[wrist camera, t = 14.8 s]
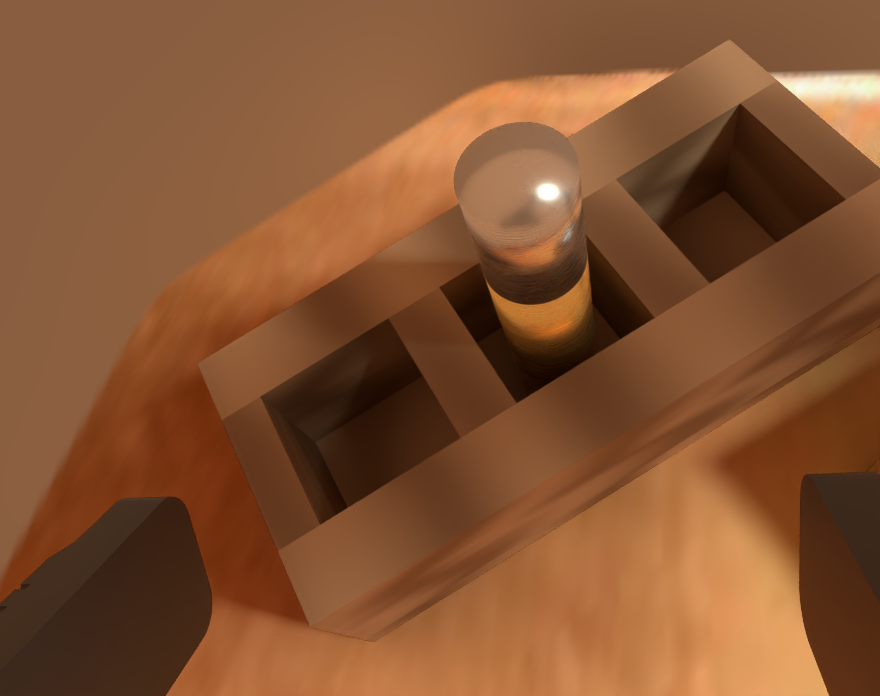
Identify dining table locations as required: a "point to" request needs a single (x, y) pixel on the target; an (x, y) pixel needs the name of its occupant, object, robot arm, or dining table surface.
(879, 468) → the socket block
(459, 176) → the gold clear cylinder
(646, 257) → the vial rack
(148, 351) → the dining table surface
